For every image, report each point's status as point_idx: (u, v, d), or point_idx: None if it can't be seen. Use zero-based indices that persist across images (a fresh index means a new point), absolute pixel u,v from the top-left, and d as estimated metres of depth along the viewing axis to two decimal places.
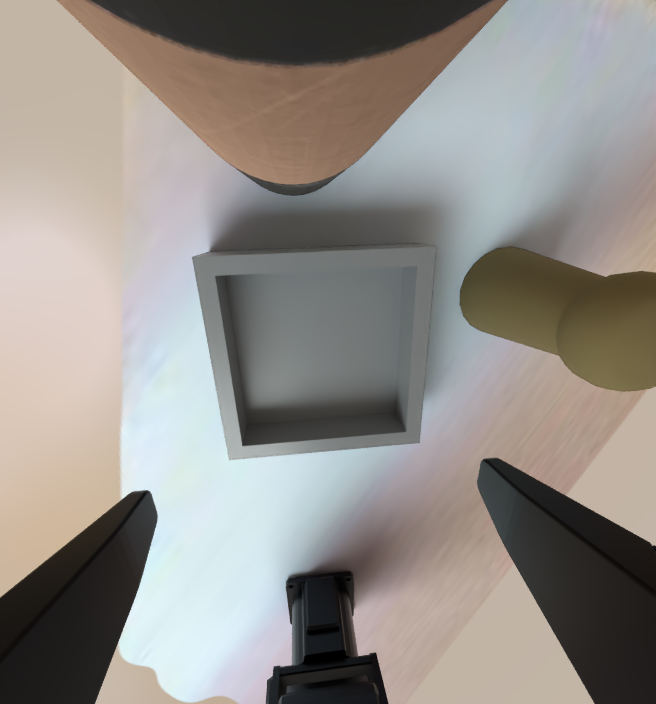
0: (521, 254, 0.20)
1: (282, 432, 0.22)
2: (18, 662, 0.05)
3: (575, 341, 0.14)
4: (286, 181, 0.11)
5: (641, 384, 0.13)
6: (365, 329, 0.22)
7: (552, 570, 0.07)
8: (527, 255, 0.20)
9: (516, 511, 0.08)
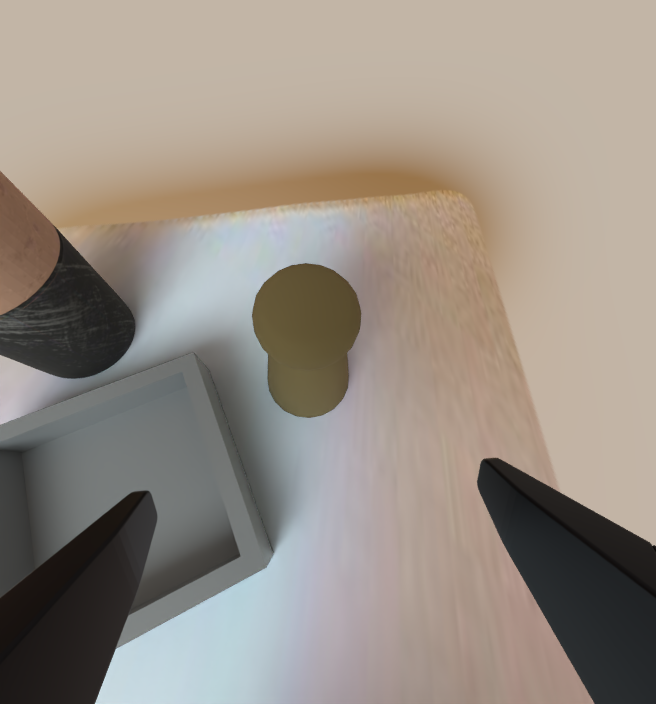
0: None
1: None
2: (18, 662, 0.05)
3: (257, 336, 0.15)
4: None
5: (317, 334, 0.14)
6: (178, 457, 0.21)
7: (552, 570, 0.07)
8: None
9: (516, 511, 0.08)
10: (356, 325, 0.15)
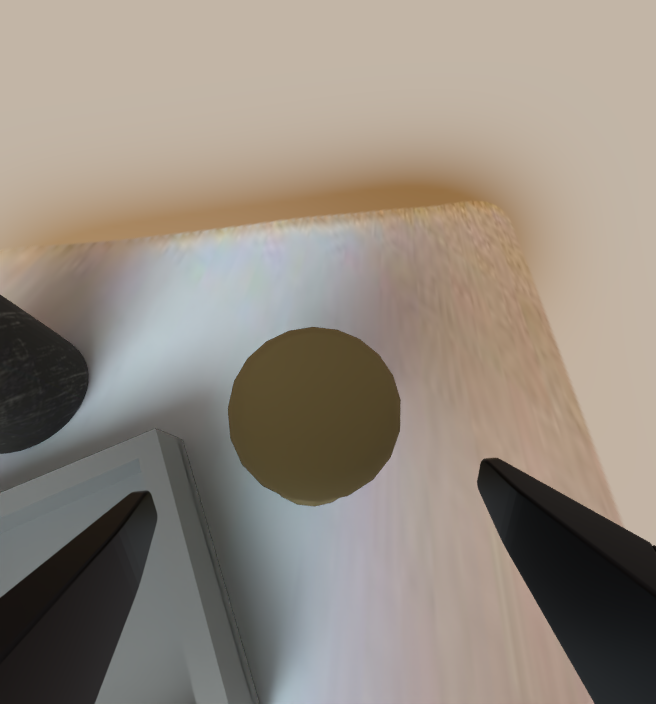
0: None
1: None
2: (18, 662, 0.05)
3: (235, 449, 0.09)
4: None
5: (334, 463, 0.08)
6: None
7: (552, 570, 0.07)
8: None
9: (516, 511, 0.08)
10: (396, 433, 0.09)
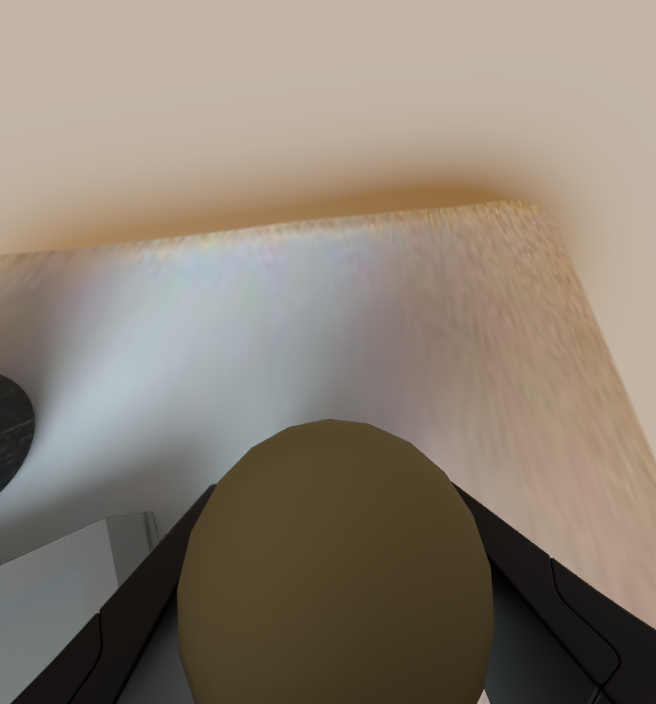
0: None
1: None
2: (154, 644, 0.05)
3: None
4: None
5: None
6: None
7: None
8: None
9: None
10: (491, 645, 0.05)
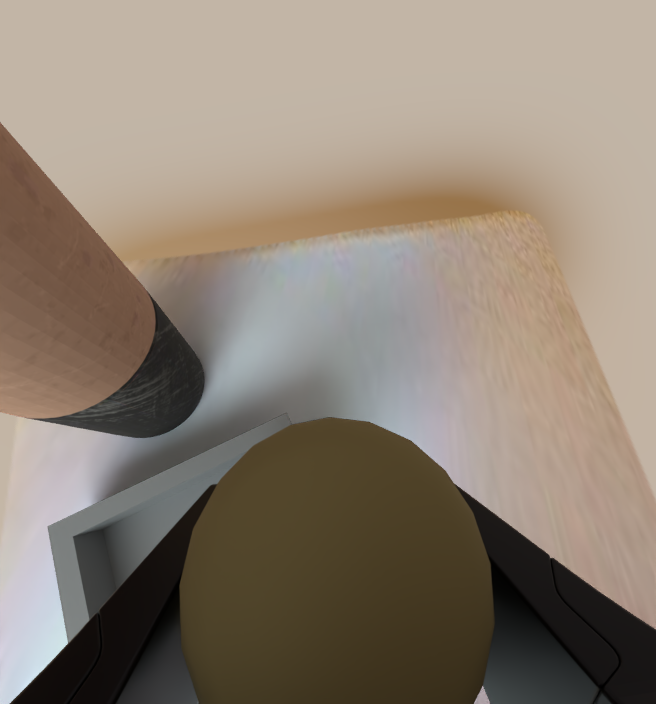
0: None
1: None
2: (153, 644, 0.05)
3: None
4: (64, 408, 0.13)
5: None
6: None
7: None
8: None
9: None
10: (490, 641, 0.05)
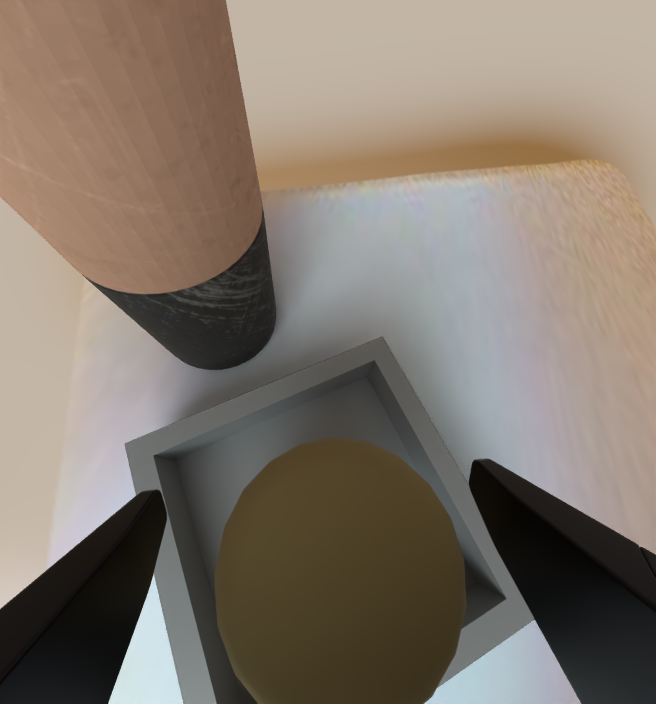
0: None
1: None
2: (36, 659, 0.05)
3: None
4: (174, 275, 0.11)
5: None
6: None
7: (541, 572, 0.07)
8: None
9: (506, 512, 0.08)
10: (462, 621, 0.06)
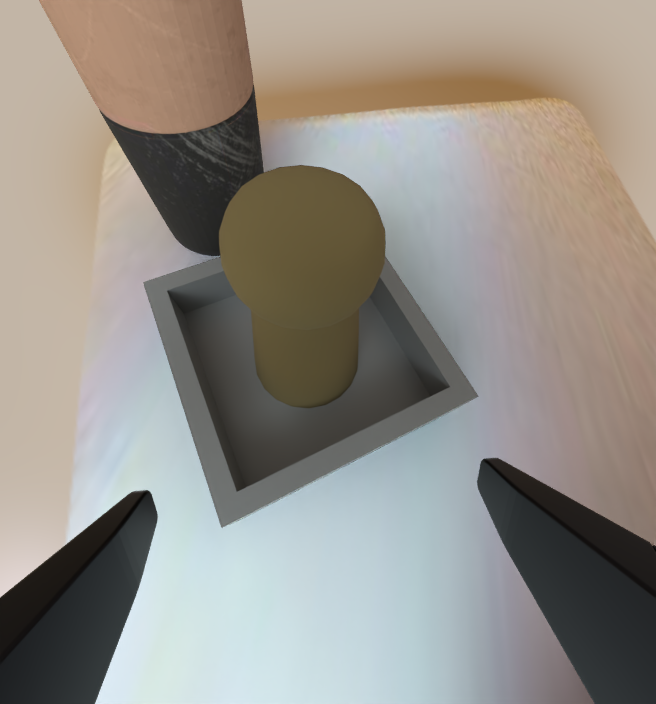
0: None
1: None
2: (18, 662, 0.05)
3: (226, 273, 0.10)
4: (185, 113, 0.14)
5: (319, 261, 0.08)
6: None
7: (552, 570, 0.07)
8: None
9: (516, 511, 0.08)
10: (380, 254, 0.09)
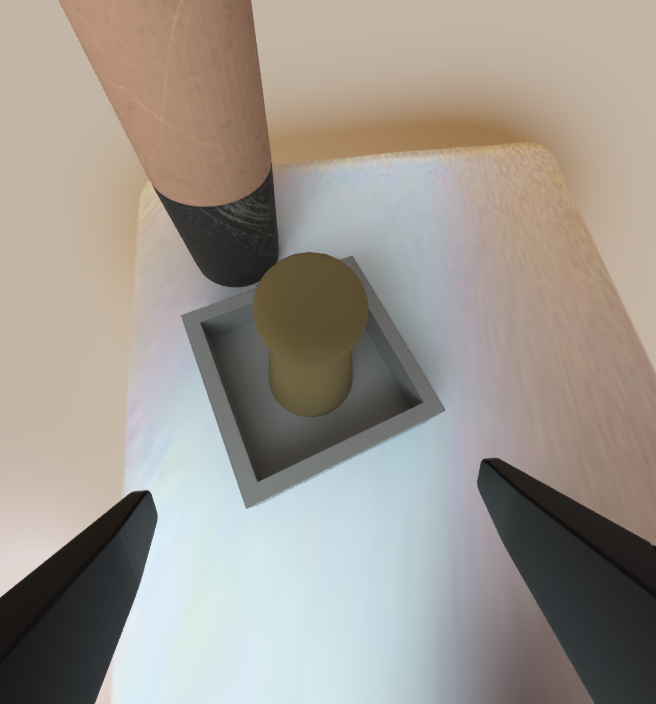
0: None
1: None
2: (19, 661, 0.05)
3: (258, 329, 0.14)
4: (221, 193, 0.18)
5: (322, 327, 0.13)
6: None
7: (552, 570, 0.07)
8: None
9: (516, 511, 0.08)
10: (363, 318, 0.14)
